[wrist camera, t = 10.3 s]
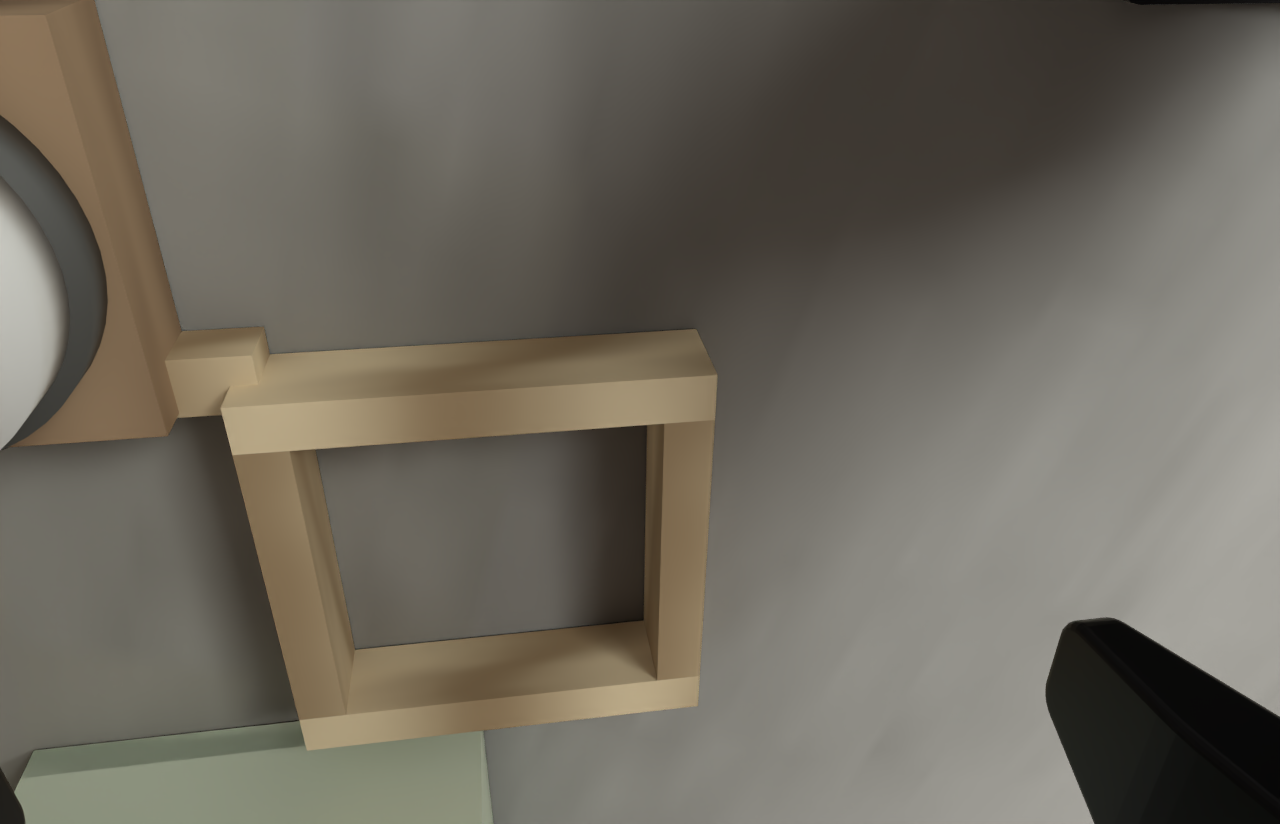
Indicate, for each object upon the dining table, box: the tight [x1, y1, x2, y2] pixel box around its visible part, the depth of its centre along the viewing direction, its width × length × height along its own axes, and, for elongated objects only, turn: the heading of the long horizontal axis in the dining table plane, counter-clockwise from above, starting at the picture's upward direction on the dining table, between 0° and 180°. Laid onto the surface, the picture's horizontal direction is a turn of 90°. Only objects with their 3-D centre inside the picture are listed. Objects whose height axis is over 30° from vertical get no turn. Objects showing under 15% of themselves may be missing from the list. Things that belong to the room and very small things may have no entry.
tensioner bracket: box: [0, 0, 718, 751], centre depth 18 cm, size 17×16×4 cm
